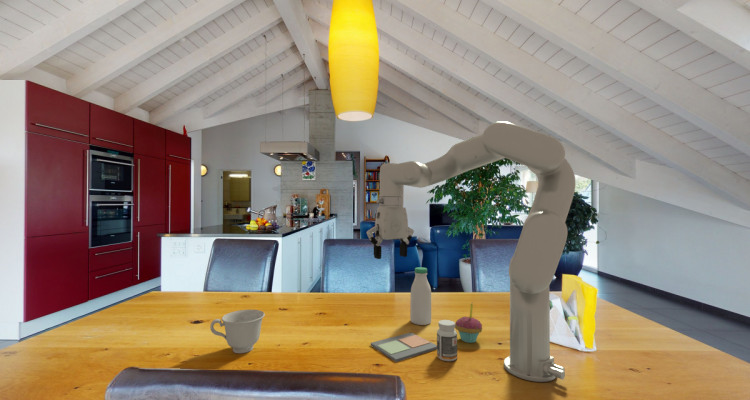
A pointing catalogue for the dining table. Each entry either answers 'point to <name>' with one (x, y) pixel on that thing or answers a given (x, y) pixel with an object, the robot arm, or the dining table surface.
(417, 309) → the milk bottle
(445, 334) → the pill bottle
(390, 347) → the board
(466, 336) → the cupcake
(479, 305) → the dining table surface
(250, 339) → the teacup
